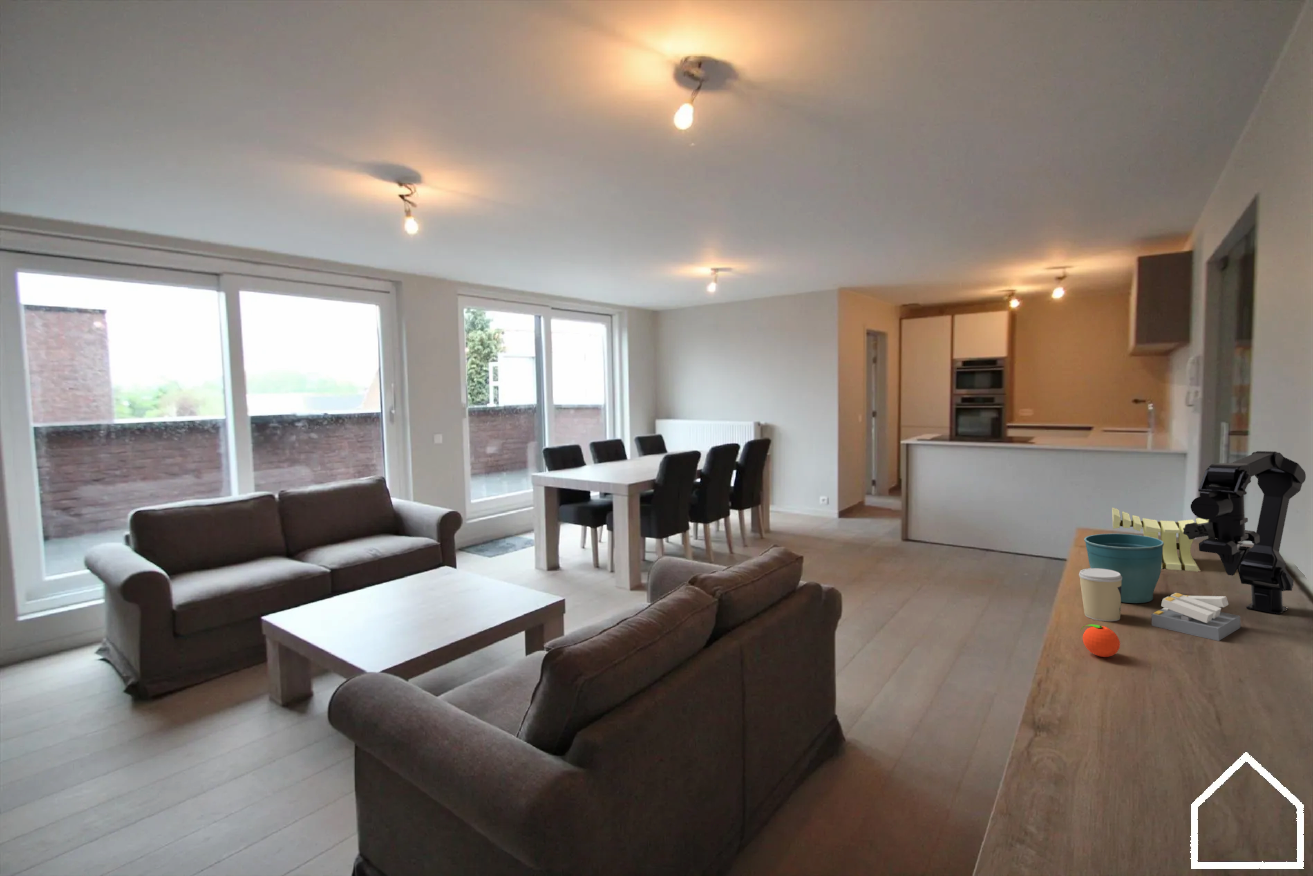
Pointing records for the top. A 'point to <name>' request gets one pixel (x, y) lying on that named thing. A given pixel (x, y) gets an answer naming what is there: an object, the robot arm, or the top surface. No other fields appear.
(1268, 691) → the top surface
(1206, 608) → the rocker middle
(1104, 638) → the clementine
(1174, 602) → the block
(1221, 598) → the block
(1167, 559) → the slatted curved stool
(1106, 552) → the flower pot
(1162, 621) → the console
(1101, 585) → the coffee cup
